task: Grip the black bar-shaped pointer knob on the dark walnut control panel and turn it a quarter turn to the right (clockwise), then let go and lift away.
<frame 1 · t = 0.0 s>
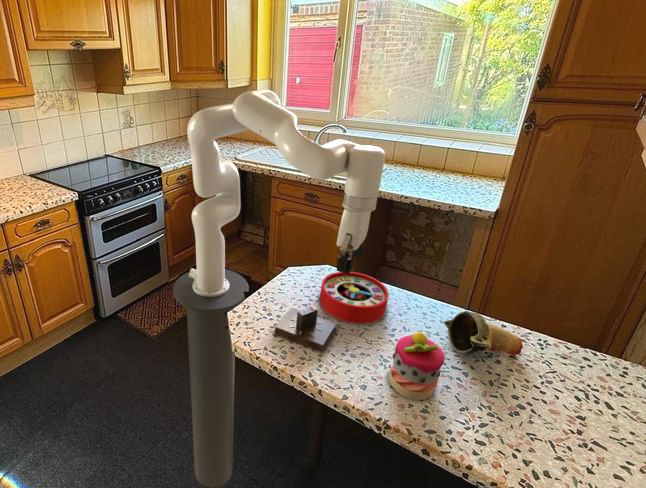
hand: (349, 263, 101), 24 cm above the countertop, tool pointing down, fingers open, 9 cm apart
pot: (473, 350, 108), on the countertop
dial: (307, 317, 112), point 5 cm above the countertop, hinge at 60.0°
toy clock: (351, 304, 126), on the countertop
panel: (305, 332, 114), on the countertop
cake: (410, 384, 97), on the countertop
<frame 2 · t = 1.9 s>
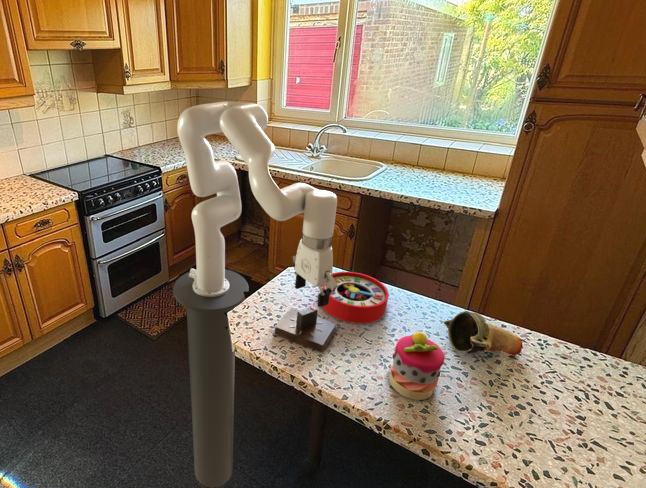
hand: (311, 296, 108), 13 cm above the countertop, tool pointing down, fingers open, 9 cm apart
nothing on the countertop moved.
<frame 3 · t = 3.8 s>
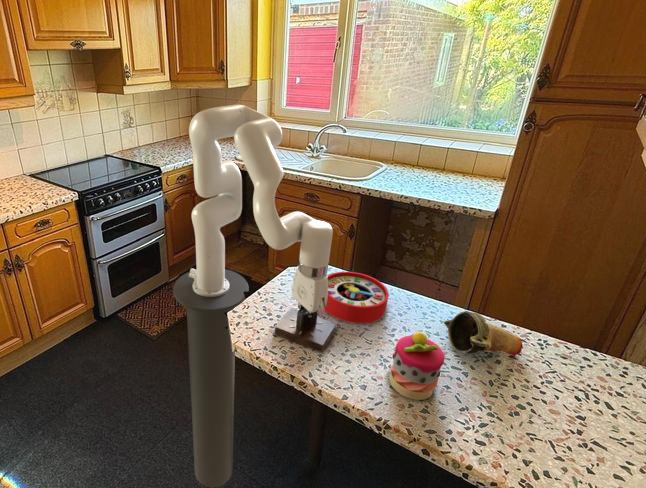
hand: (306, 322, 112), 3 cm above the countertop, tool pointing down, fingers closed on dial, 2 cm apart
dial: (307, 317, 112), point 5 cm above the countertop, hinge at 60.0°, touching gripper
everything else where it was.
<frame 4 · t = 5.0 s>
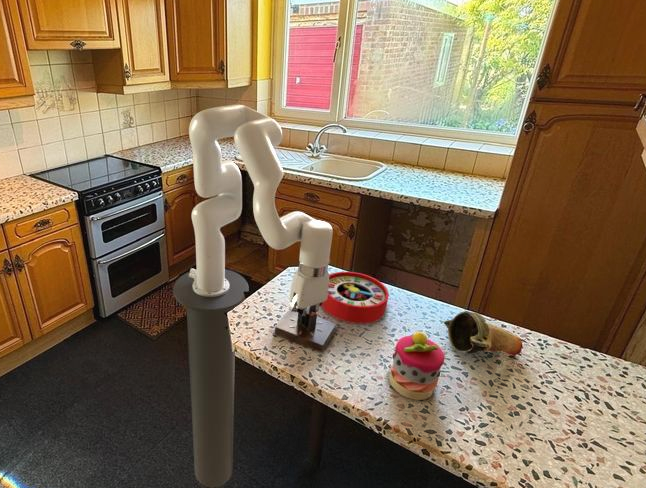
hand: (306, 322, 112), 3 cm above the countertop, tool pointing down, fingers closed on dial, 2 cm apart
dial: (307, 317, 112), point 5 cm above the countertop, hinge at -29.5°, touching gripper
everything else where it was.
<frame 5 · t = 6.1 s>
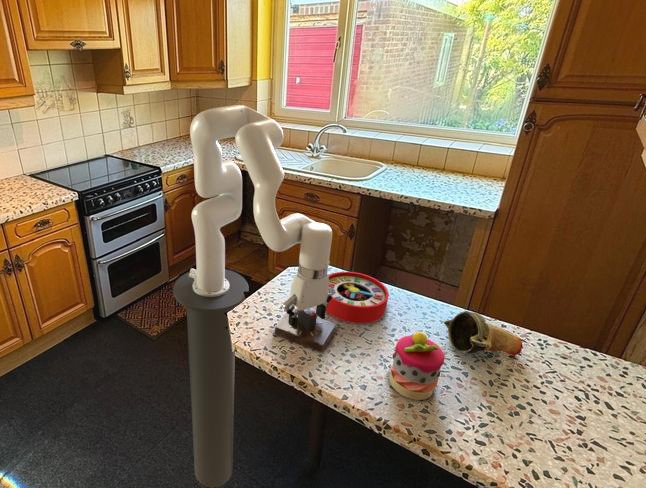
hand: (306, 321, 112), 4 cm above the countertop, tool pointing down, fingers open, 9 cm apart
dial: (307, 317, 112), point 5 cm above the countertop, hinge at -29.6°
everything else where it was.
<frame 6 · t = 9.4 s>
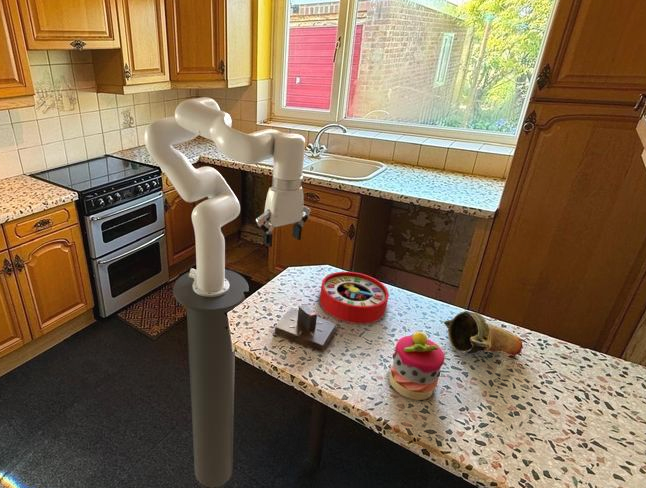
hand: (282, 241, 111), 24 cm above the countertop, tool pointing down, fingers open, 9 cm apart
nothing on the countertop moved.
at the end: dial at -30° (first picture: +60°) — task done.
